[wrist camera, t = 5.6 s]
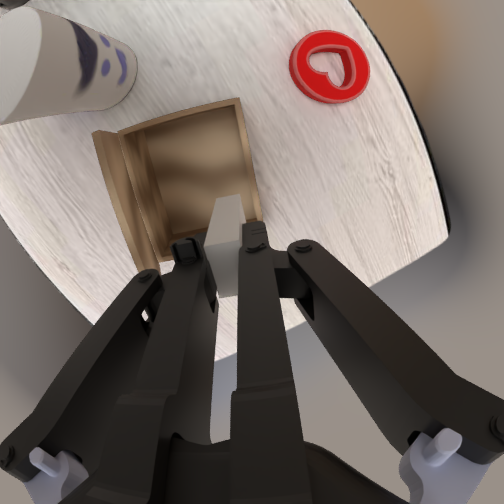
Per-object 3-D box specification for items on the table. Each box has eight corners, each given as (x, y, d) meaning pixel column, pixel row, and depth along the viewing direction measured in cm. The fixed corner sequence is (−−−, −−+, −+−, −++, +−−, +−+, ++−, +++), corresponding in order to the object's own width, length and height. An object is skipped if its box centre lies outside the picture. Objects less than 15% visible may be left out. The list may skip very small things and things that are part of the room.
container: (148, 85, 28) (52, 69, 10) (87, 123, 30) (-22, 152, 12) (124, 28, 24) (31, -17, 6) (66, 68, 25) (-40, 66, 7)
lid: (117, 133, 24) (112, 135, 23) (99, 130, 13) (90, 133, 13) (159, 264, 31) (154, 266, 31) (173, 331, 20) (166, 334, 20)
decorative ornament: (366, 50, 26) (376, 46, 24) (353, 112, 31) (362, 113, 28) (296, 26, 25) (301, 19, 22) (281, 92, 30) (285, 89, 27)
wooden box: (139, 126, 31) (117, 131, 24) (239, 100, 30) (239, 97, 24) (171, 237, 38) (158, 262, 32) (262, 219, 37) (267, 242, 31)
